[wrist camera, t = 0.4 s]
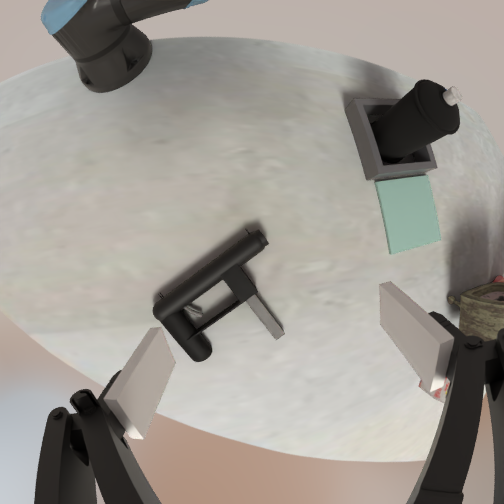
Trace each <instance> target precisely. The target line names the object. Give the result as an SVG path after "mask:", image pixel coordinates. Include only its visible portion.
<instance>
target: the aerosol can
mask: <svg viewBox="0 0 504 504" xmlns="http://www.w3.org/2000/svg"><path fill="white" fill-rule="evenodd" d="M461 100H462V95H461V93H460V91H459V90H458V89H457V88H456V87H451V88H450V89H448V90H446V89H445V88H444V87H443V86H441V85H439V84H437V83H434V82H432V81H430V80H420V81H418V82H417V83H416V84H415V86H414V88H413V89H412V90H411V91H410V92H408V93H407V94H406V95H405V96H404V97H403V98H402V99H401V100H399V101H398V102H397V103H396V104H395V105H394V106H393V107H392V108H390V109H389V110H388V111H387V112H386V113H385V114H384V115H383V116H381V117H380V118H379V119H378V120H377V121H374V122H373V123H371V125H370V126H371V129H372V132H373V135H374V138H375V141H376V144H377V147H378V150H379V153H380V157H381V160H383V161H385V162H388V163H397V162H399V161H401V160H402V159H403V158H404V157H405V156H407V155H409V154H411V153H413V152H415V151H417V150H419V149H421V148H423V147H424V146H426V145H428V144H430V143H432V142H434V141H436V140H438V139H440V138H442V137H444V136H446V135H448V134H454V133H455V132H456V131H457V130H458V128H459V125H460V117H459V109H458V106H457V103H458V102H459V101H461Z"/></svg>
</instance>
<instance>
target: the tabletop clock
mask: <svg viewBox="0 0 504 504" xmlns="http://www.w3.org/2000/svg"><path fill="white" fill-rule="evenodd" d="M448 303H449V304H453V303H455V304H456V305H457V306H459V307H460V322H459V330H460V331H461V332H462V333H463V334H465V335H466V336H472V335H473V336H478V337H480V338H482V339H483V340H484V341H490V340H494V339H496V337H497V334H498V331H499V330H500V329H502V328H504V282H493V283H488V284H485V285H482V286H479V287H476V288H473V289H470V290H468V291H465V292H463V293H462V294H461V303H460V302H458V301H455V298H454V296H450V297H449V298H448Z"/></svg>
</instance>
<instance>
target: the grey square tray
mask: <svg viewBox="0 0 504 504" xmlns="http://www.w3.org/2000/svg"><path fill="white" fill-rule="evenodd" d="M399 100H401V99H376V98H356V99H353V100H352V102H351V103H350V104H349V105H348V107H347V108H346V109H345V113H346V116H347V118H348V121H349V124H350V127H351V130H352V133H353V136H354V139H355V142H356V146H357V149H358V152H359V155H360V159H361V162H362V166H363V169H364V173H365V177H366V180H374V179H381V178H388V177H396V176H404V175H412V174H421V173H425V172H428V171H430V170H433V169H436V168H437V164H436V161H435V157H434V154H433V151H432V148H431V145H430V144H428V145H426V146H424V147H423V148H421V149H419V150H417V151H415V152H413V156H414V159H415V162H416V163H406V164H396V165H386V166H383V163H382V160H381V157H380V153H379V150H378V147H377V144H376V141H375V138H374V135H373V132H372V129H371V126H370V123H369V120H368V117H367V115H384V114H385V113H386V112H387V111H388V110H389V109H390V108H392V107H393V106H394V105H395V104H396V103H397V102H398V101H399Z"/></svg>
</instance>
